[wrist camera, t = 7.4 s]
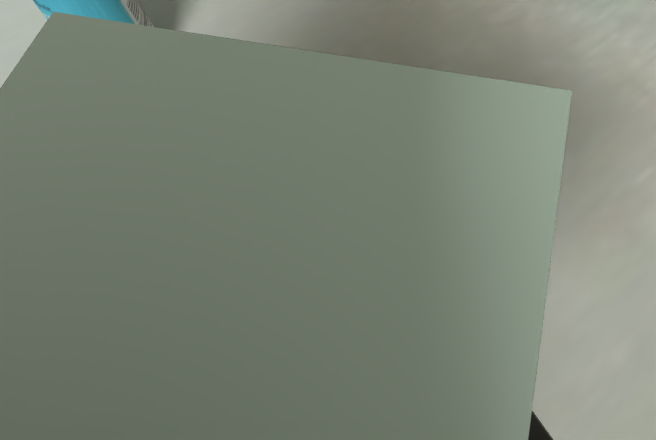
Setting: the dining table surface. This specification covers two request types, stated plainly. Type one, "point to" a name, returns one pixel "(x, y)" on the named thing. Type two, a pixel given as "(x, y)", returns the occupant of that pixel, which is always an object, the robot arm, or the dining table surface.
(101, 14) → the tube
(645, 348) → the dining table surface
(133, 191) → the post
